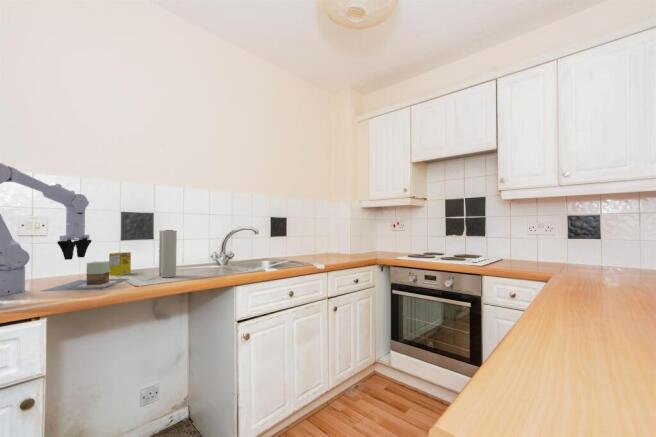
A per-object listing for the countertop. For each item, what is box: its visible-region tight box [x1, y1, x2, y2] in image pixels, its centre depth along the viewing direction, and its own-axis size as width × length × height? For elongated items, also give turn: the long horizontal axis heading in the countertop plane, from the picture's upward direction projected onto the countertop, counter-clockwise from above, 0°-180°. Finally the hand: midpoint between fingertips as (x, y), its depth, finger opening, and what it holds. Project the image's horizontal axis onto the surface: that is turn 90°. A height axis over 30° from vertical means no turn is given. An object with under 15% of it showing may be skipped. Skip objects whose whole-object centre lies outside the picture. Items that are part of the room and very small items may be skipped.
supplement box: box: [108, 251, 132, 276], centre depth 138 cm, size 6×6×11 cm
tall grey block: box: [158, 229, 178, 278], centre depth 137 cm, size 7×6×21 cm
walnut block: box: [86, 272, 110, 285], centre depth 113 cm, size 5×5×4 cm
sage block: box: [86, 260, 109, 275], centre depth 113 cm, size 5×5×4 cm
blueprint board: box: [41, 278, 129, 292], centre depth 114 cm, size 21×19×2 cm
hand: (74, 258), depth 118 cm, fingers open, 7 cm apart
